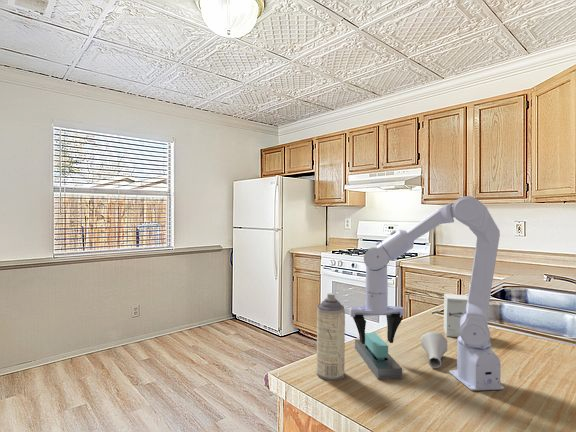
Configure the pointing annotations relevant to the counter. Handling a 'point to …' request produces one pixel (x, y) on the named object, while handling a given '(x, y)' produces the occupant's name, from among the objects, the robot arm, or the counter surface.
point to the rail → (379, 363)
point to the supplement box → (453, 313)
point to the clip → (376, 346)
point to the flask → (434, 347)
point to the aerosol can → (330, 339)
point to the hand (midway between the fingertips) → (376, 342)
